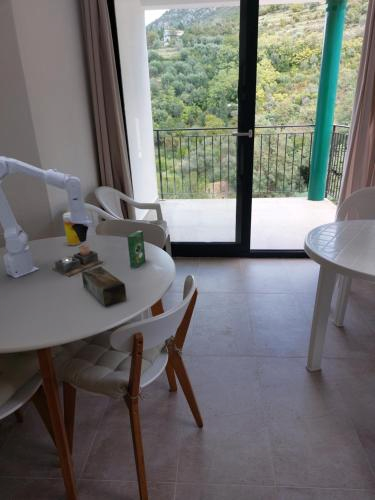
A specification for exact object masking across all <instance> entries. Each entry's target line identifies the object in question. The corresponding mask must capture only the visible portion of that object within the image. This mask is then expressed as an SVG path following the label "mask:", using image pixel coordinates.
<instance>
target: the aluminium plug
mask: <svg viewBox="0 0 375 500" xmlns="http://www.w3.org/2000/svg"><path fill="white" fill-rule="evenodd" d="M72 257H73V256H71V257H68V256H65V257H63V258H61V259H62V263H64V264H67V263H69V262H72V261H73V260H72Z"/></svg>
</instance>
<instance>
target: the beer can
mask: <svg viewBox="0 0 375 500" xmlns="http://www.w3.org/2000/svg"><path fill="white" fill-rule="evenodd" d="M70 216H71V213H70V211H68V212H65V213H63V215H62V221H63V224H64V231H65V235H66V236H65V237H66V241H67V244H68V245H69V246H71V247H72V246H73V247H74V246H78V245H80V244H81V242H80V240H79V238H78V236H77V234H76V232H75V231H74V229H73V228H72V227H71V226H72V225H74V223H72V222H68V221H67V217H70Z"/></svg>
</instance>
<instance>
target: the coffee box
mask: <svg viewBox="0 0 375 500" xmlns="http://www.w3.org/2000/svg"><path fill="white" fill-rule="evenodd" d="M143 232H144V231H143V230H136V231H134V232H132V233H131V234H129V235H127V236H126V238H127V246H128V256H129V262H130V263H129V266H130V268H131V269H132V268H133V269H135V268H138V267H139V266H141V265H142V264H144V262H146V251H145V250H146V249H145V241H144V233H143Z"/></svg>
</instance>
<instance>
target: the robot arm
mask: <svg viewBox="0 0 375 500" xmlns="http://www.w3.org/2000/svg"><path fill="white" fill-rule="evenodd" d="M17 173H21V174H24V175H27V176H31V177H35V178H37V179H41V180H43V181H44V184H46V185H48V186H52V187H55V188H58V189H60V190H65V191H66V193H67V201H68V206H69V207H68V208H69V212H70V213H71V216H70V217H67V221H68V222H72V223H74V225H72V226H71V227H72V228H73V229H74V231H75V232H76V234H77V236H78V238H79V240H80V243H83V242H87V236H88V235H87V234H88V230H89V228H91V227H94V223H93V220H90V217H89V216H87V212H86V205H85V200H84V195H83V189H82V180H81V179H80V178H78V177H77V176H76V175H71V174H70V173H67V174H66V173H62V172H60V171H58V169H56V168H53V169H51V168H50V169H47V170H45V169H42V168H39V167H36V166H34V165H32V164H29V163H26V162H23V161H21V160H18V159H16V158H12V157H8V156H4V155H0V225H1V226H2V229H3V233H4V234H3V236H4V240H5V248H6V249H7V251H8V252H7V253H6V254H4V255H3V257H2V259H3V263H4V266H5V269H6V274H7V275H9V276H11V277H13V278H14V279H17V278H20V277H22V276H24V275H29V274H30V273H33V272H35V271H39V268H38V267H36V266H34V262H33V261H34V260H33V258H32V253H31V250H30V246H29V245H28V242H29V235H28V234H27V233H26V232H25V231H24V230H23V229H22V226H20V225H19V224H18V222H17V220H16V217H15V214H14V213H13V211H12V207H11V206H10V204H9V201H8V200H7V197H6V195H5V193H4V190H3V189H2V186H1V185H2V183H3V180H4V178H5V177H6V176H7V175H8V174H9V175H11V174H17Z"/></svg>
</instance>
